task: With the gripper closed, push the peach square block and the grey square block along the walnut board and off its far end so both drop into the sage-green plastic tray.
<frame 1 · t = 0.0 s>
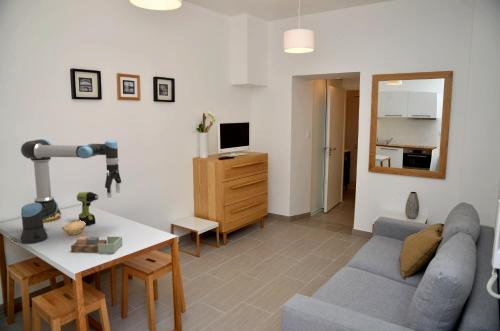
hand: (113, 194, 242), 28 cm above the table, fingers open, 13 cm apart
walnut board: (89, 248, 221), on the table
grey square block: (93, 242, 220), point 4 cm above the table, touching walnut board
peach square block: (82, 242, 220), point 4 cm above the table, touching walnut board
tray: (111, 249, 220), on the table
cordless drill: (90, 224, 266), on the table
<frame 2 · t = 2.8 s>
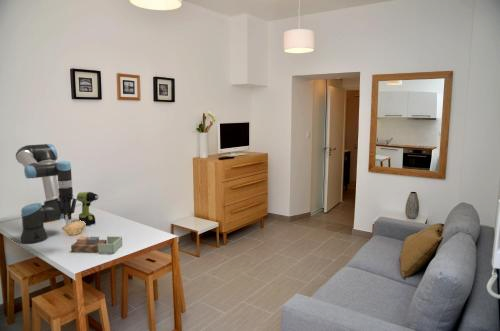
hand: (68, 224, 219), 15 cm above the table, fingers closed
nothing on the table moved.
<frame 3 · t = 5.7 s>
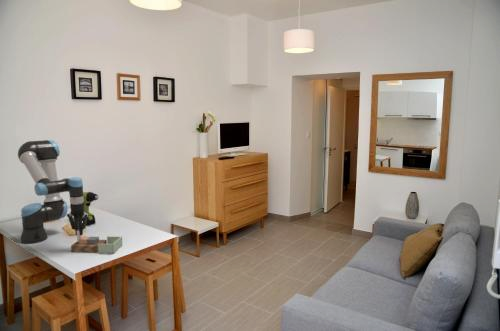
hand: (79, 240, 220), 6 cm above the table, fingers closed
peach square block: (85, 242, 220), point 4 cm above the table, touching gripper, walnut board
everything else where it was.
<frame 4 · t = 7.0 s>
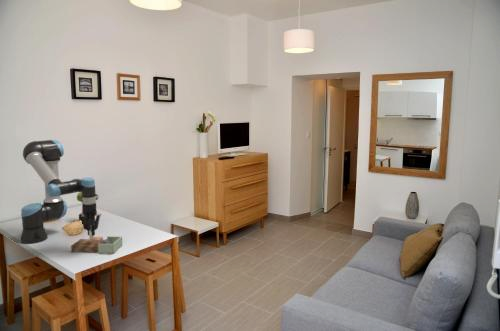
hand: (91, 240, 220), 6 cm above the table, fingers closed
grey square block: (104, 245, 220), point 3 cm above the table, tilted 63°, touching tray
peach square block: (97, 242, 220), point 4 cm above the table, touching gripper
everything else where it was.
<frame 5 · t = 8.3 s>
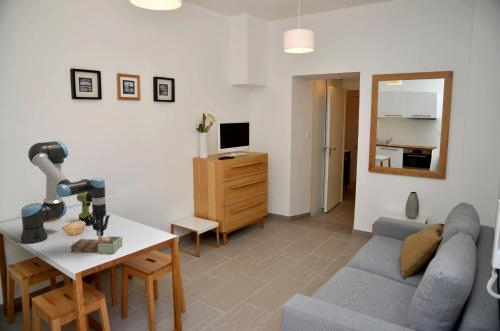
hand: (100, 240, 220), 6 cm above the table, fingers closed
grey square block: (110, 242, 220), point 4 cm above the table, tilted 139°, touching peach square block, tray
peach square block: (105, 243, 220), point 4 cm above the table, tilted 6°, touching gripper, grey square block, walnut board
everything else where it was.
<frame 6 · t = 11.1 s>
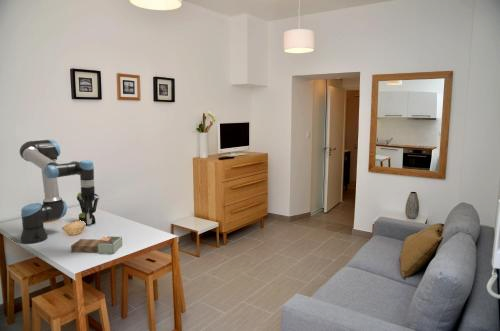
hand: (89, 223, 219), 16 cm above the table, fingers closed
peach square block: (105, 243, 220), point 4 cm above the table, tilted 6°, touching grey square block, walnut board
everything else where it was.
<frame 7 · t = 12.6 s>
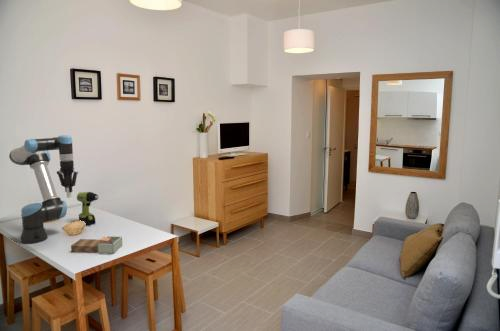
hand: (69, 197, 225), 30 cm above the table, fingers closed
nothing on the table moved.
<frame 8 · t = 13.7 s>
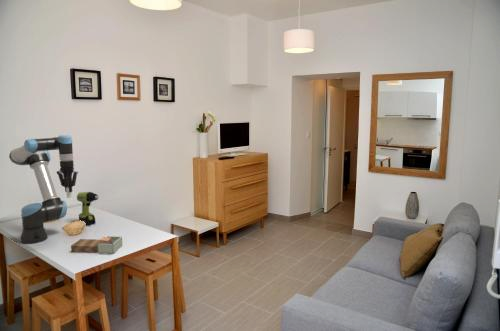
hand: (69, 197, 225), 30 cm above the table, fingers closed
nothing on the table moved.
at the end: grey square block inside the target area on the tray (0.5 cm from its centre), point 4.4 cm above the tray's base; peach square block inside the target area on the tray (3.9 cm from its centre), point 3.8 cm above the tray's base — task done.
